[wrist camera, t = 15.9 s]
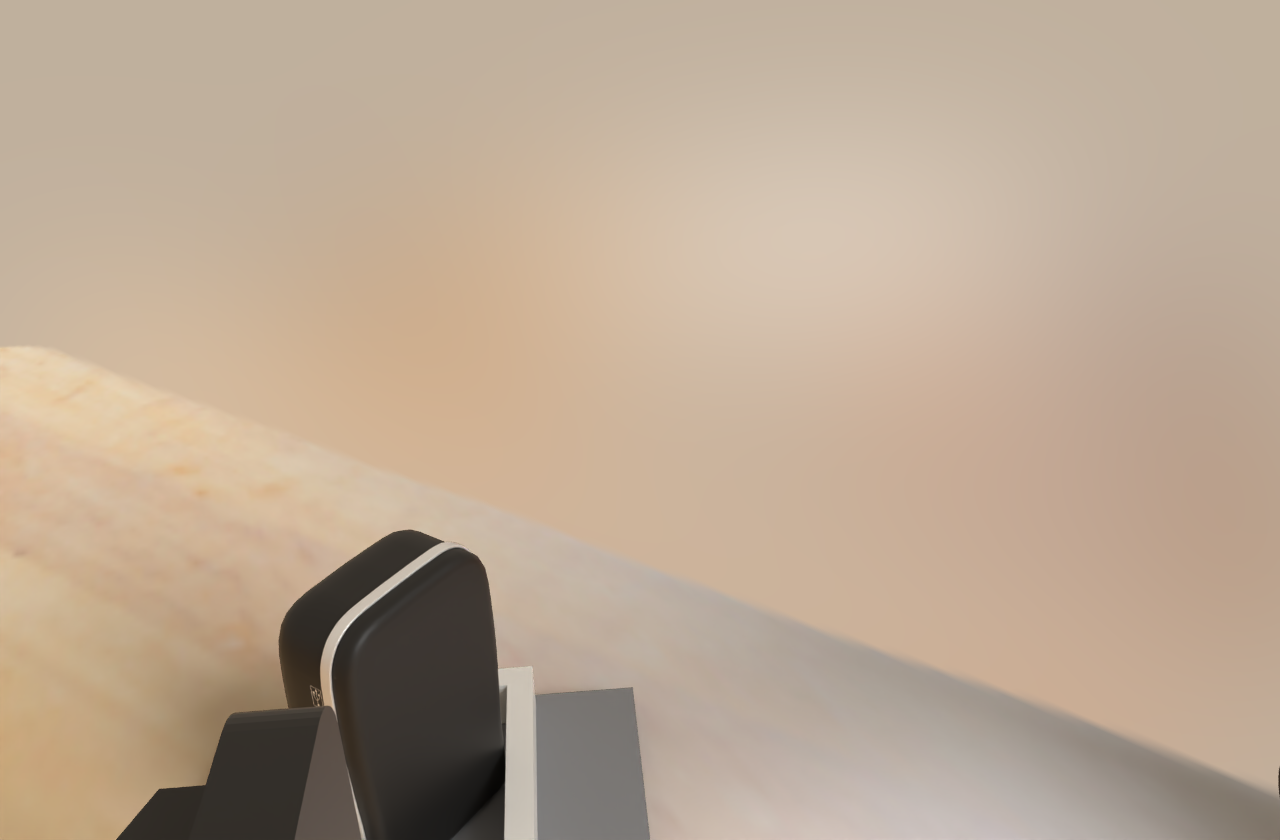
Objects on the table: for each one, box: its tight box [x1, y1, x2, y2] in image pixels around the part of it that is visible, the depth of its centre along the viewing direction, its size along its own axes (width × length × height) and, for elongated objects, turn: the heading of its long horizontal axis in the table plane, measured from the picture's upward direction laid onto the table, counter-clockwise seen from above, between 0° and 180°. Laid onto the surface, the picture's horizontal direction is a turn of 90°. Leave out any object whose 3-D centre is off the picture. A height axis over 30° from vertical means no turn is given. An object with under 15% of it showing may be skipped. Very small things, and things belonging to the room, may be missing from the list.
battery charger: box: [279, 530, 506, 840], centre depth 40 cm, size 7×4×11 cm, turn 147°
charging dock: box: [451, 666, 650, 840], centre depth 43 cm, size 16×12×3 cm
